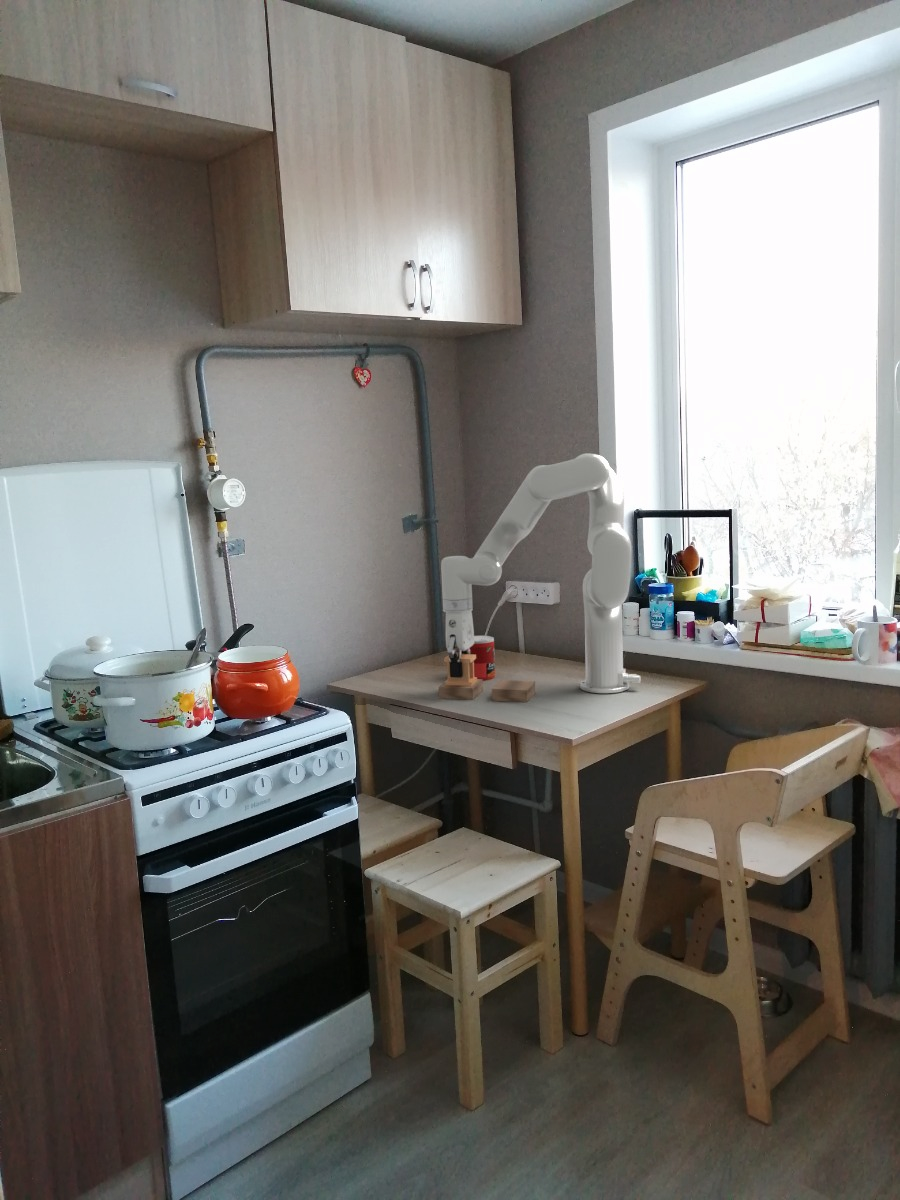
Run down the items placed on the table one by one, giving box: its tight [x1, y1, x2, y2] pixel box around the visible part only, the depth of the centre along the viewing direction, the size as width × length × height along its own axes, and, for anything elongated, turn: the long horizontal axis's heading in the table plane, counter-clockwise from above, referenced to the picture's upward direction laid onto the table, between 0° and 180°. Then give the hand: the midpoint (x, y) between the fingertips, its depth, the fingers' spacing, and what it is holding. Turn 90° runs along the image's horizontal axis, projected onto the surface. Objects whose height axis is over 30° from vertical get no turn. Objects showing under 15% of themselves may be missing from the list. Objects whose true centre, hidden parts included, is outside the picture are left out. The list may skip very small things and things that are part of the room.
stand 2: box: [491, 679, 536, 703], centre depth 240 cm, size 9×9×3 cm
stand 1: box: [438, 679, 484, 701], centre depth 244 cm, size 9×9×3 cm
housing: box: [443, 653, 477, 686], centre depth 243 cm, size 7×5×7 cm
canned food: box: [470, 635, 496, 681], centre depth 260 cm, size 8×8×11 cm
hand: (460, 673), depth 244 cm, fingers open, 6 cm apart
